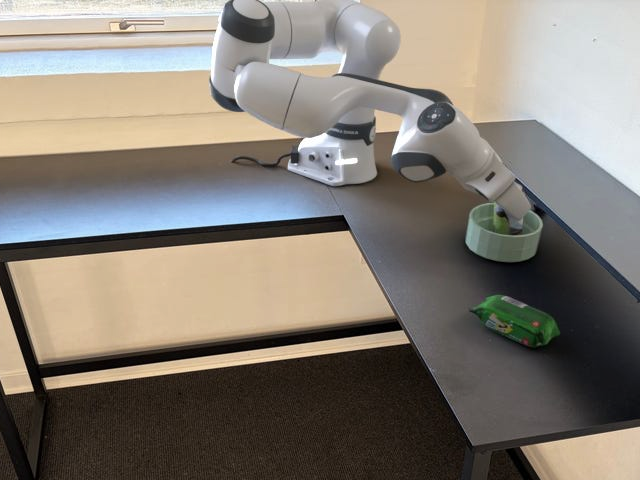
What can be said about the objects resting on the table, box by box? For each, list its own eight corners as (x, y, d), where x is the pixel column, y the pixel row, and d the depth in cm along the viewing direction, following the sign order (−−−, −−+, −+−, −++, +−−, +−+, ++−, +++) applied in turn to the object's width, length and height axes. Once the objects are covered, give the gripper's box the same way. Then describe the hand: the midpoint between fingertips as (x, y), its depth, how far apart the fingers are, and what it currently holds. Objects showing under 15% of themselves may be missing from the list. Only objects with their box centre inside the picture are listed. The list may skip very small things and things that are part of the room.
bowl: (456, 253, 153) (460, 225, 149) (476, 223, 164) (481, 196, 160) (527, 271, 149) (533, 243, 145) (542, 239, 160) (549, 212, 156)
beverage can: (519, 249, 152) (532, 196, 144) (484, 242, 153) (495, 190, 145) (521, 234, 156) (534, 183, 149) (487, 228, 157) (498, 177, 150)
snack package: (484, 307, 138) (488, 284, 135) (559, 340, 131) (566, 316, 127) (464, 323, 133) (468, 300, 130) (541, 358, 126) (548, 334, 123)
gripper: (440, 158, 150) (473, 196, 159) (492, 202, 135) (526, 240, 145) (462, 135, 148) (494, 175, 158) (517, 176, 134) (549, 217, 143)
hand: (510, 206), depth 151 cm, fingers closed on beverage can, 5 cm apart
